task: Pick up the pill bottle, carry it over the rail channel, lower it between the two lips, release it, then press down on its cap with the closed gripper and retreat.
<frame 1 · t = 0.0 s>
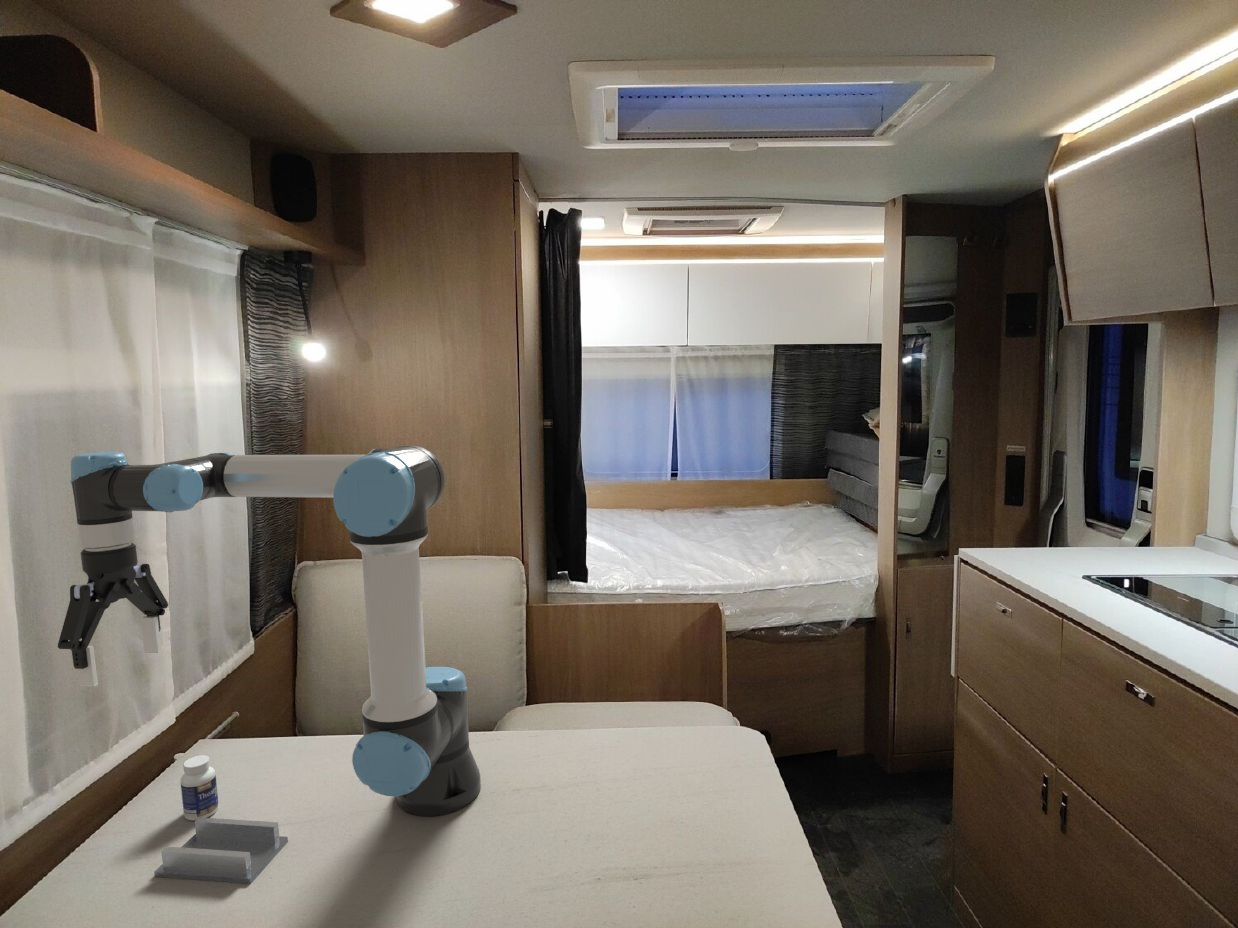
hand: (122, 668, 123), 28 cm above the table, fingers open, 13 cm apart
pill bottle: (202, 813, 129), on the table
rail channel: (223, 858, 116), on the table
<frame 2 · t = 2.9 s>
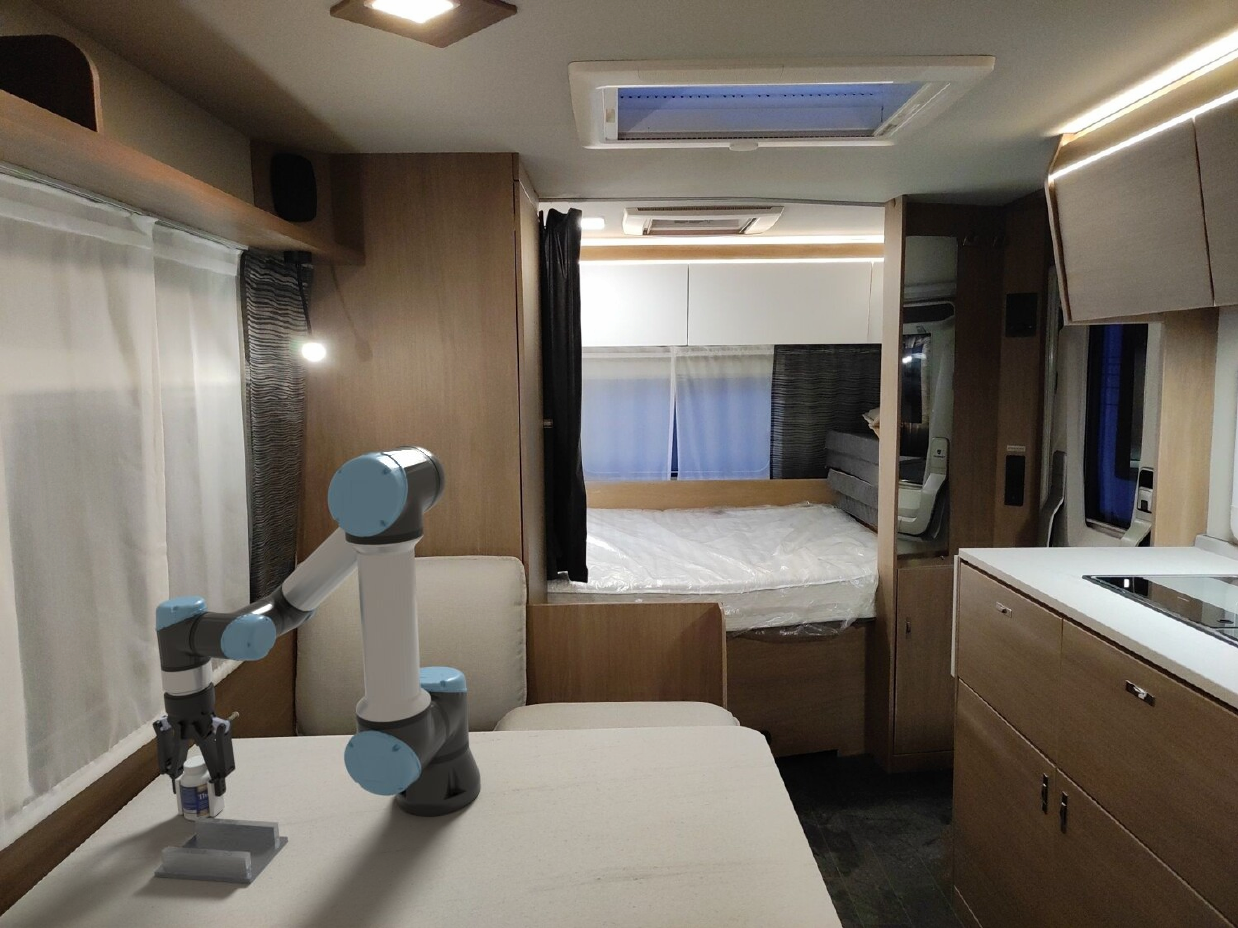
hand: (201, 810, 129), 0 cm above the table, fingers closed on pill bottle, 5 cm apart
pill bottle: (202, 813, 129), on the table, touching gripper
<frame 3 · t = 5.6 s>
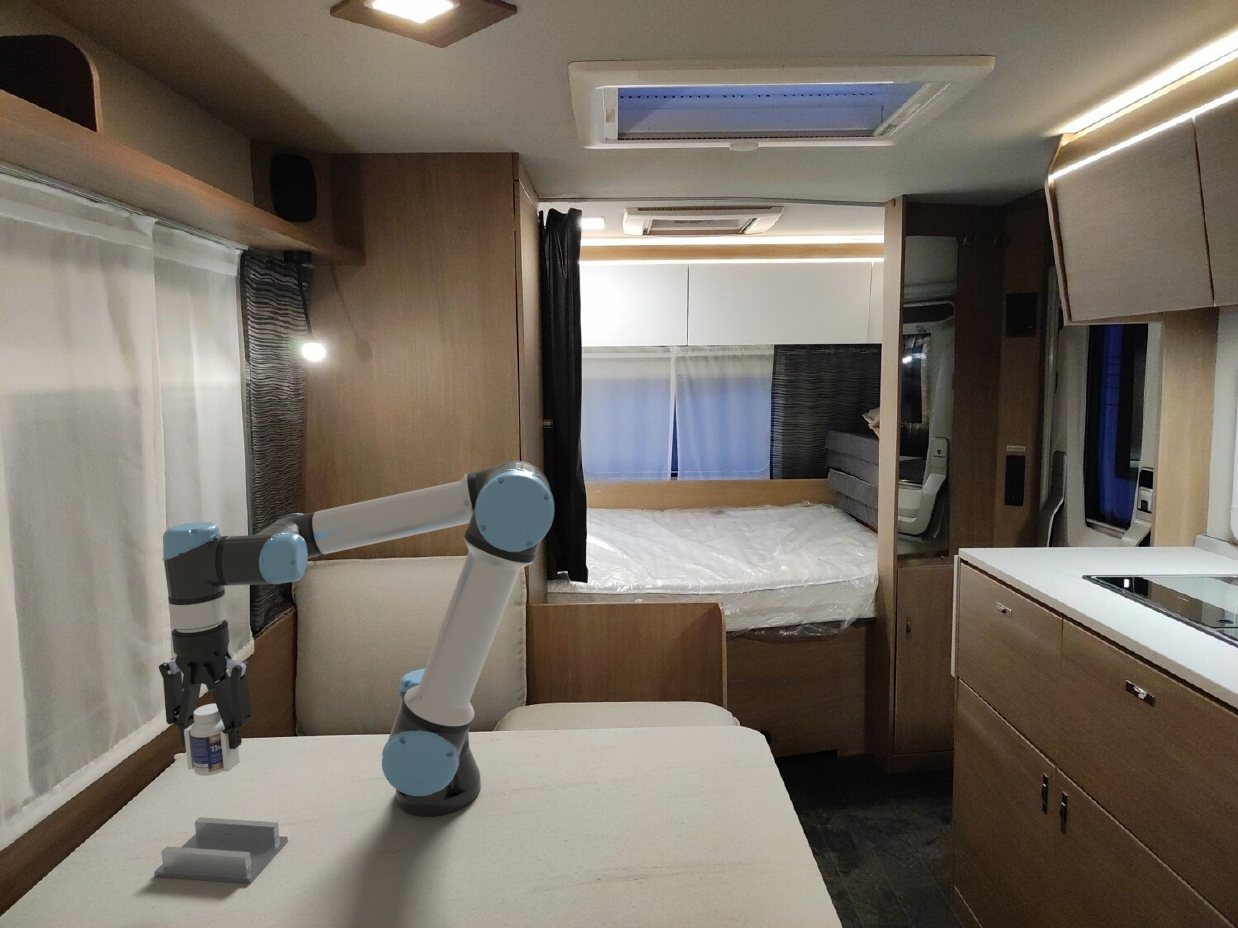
hand: (214, 765, 114), 16 cm above the table, fingers closed on pill bottle, 5 cm apart
pill bottle: (214, 768, 114), point 15 cm above the table, touching gripper
when the fingers open (2 cm above the table, at t = 8.2 s): pill bottle drops 1 cm, resting on rail channel.
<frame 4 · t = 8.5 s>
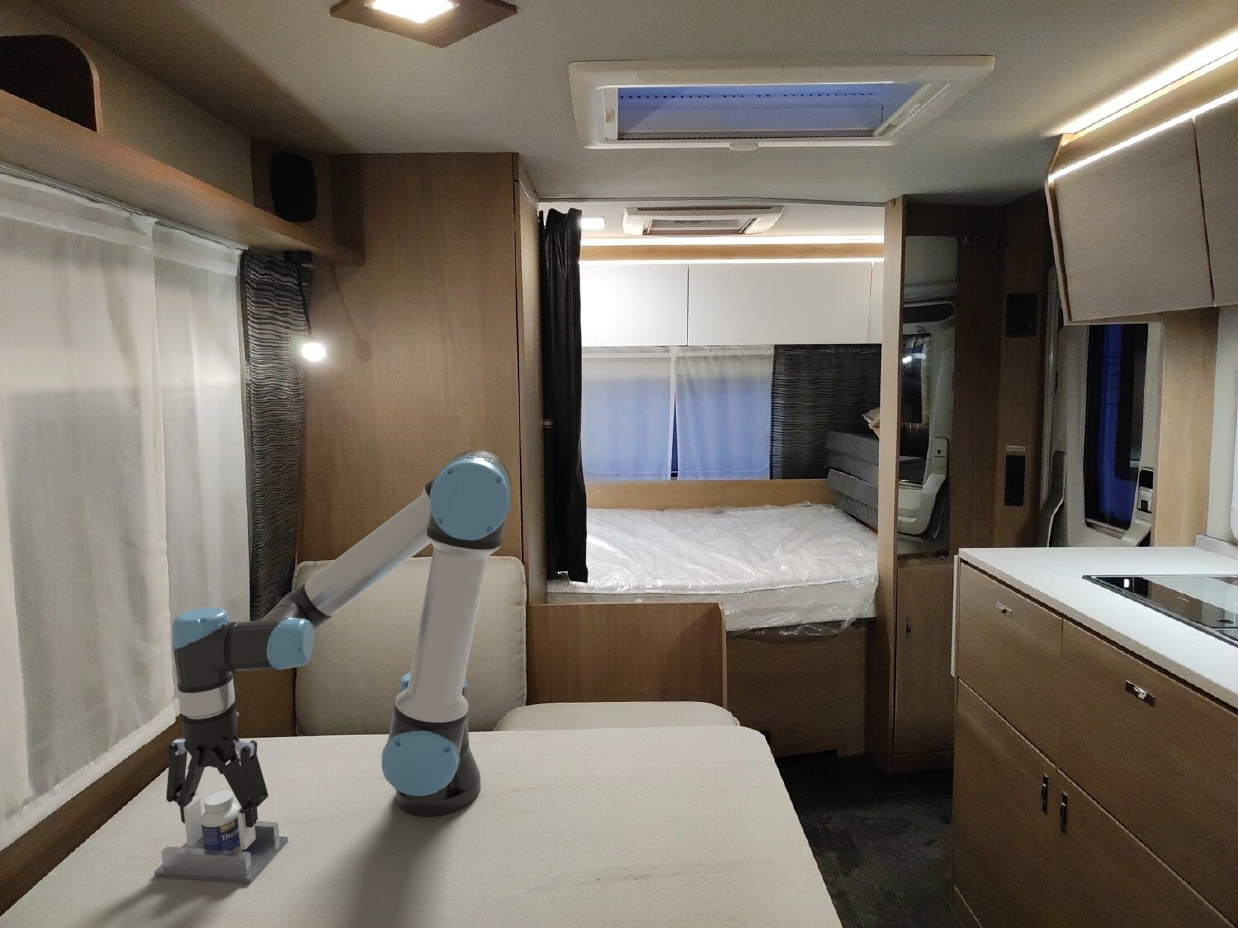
hand: (221, 841, 116), 3 cm above the table, fingers open, 8 cm apart
pill bottle: (224, 854, 116), point 1 cm above the table, touching rail channel
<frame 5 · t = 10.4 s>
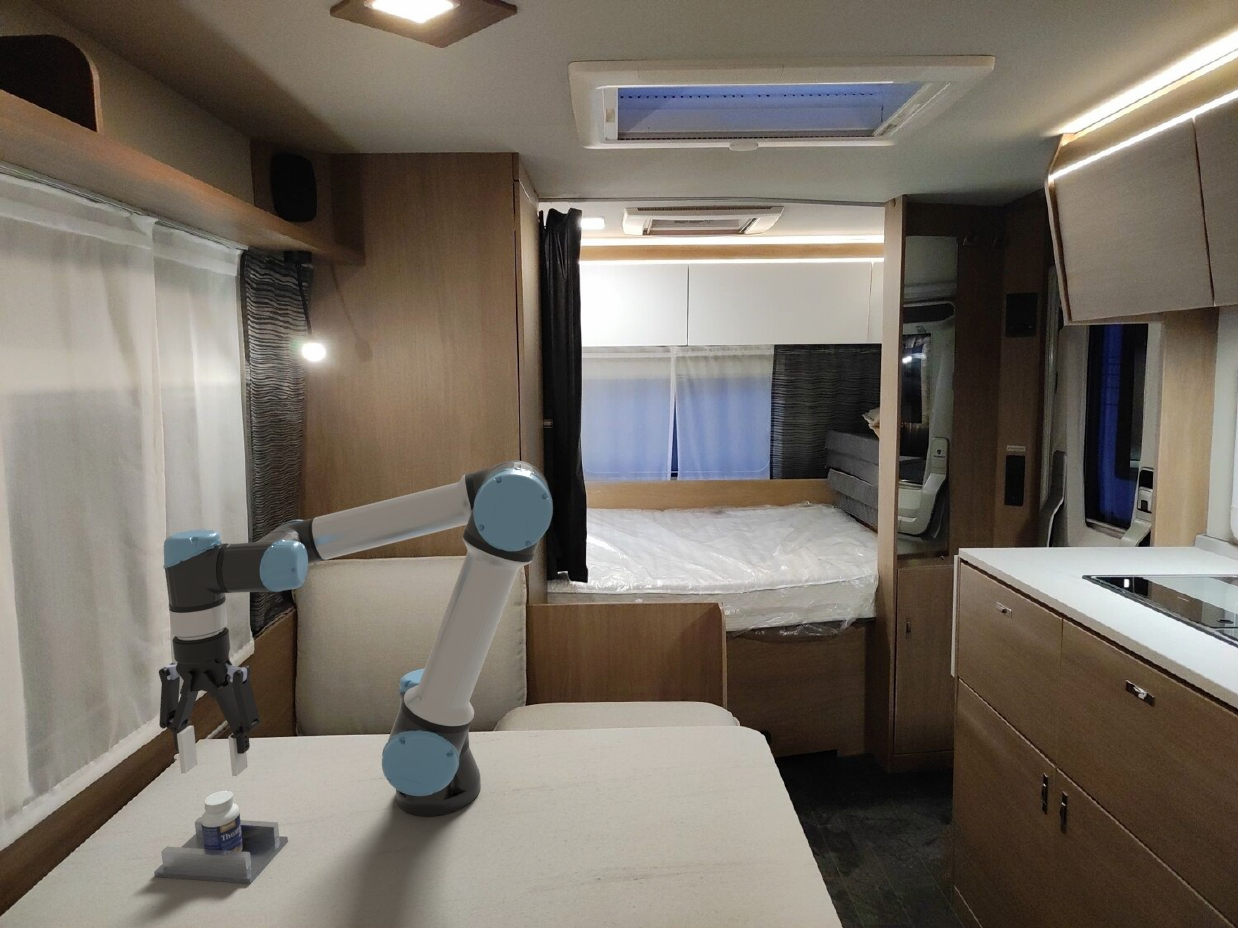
hand: (214, 769, 114), 15 cm above the table, fingers open, 8 cm apart
nothing on the table moved.
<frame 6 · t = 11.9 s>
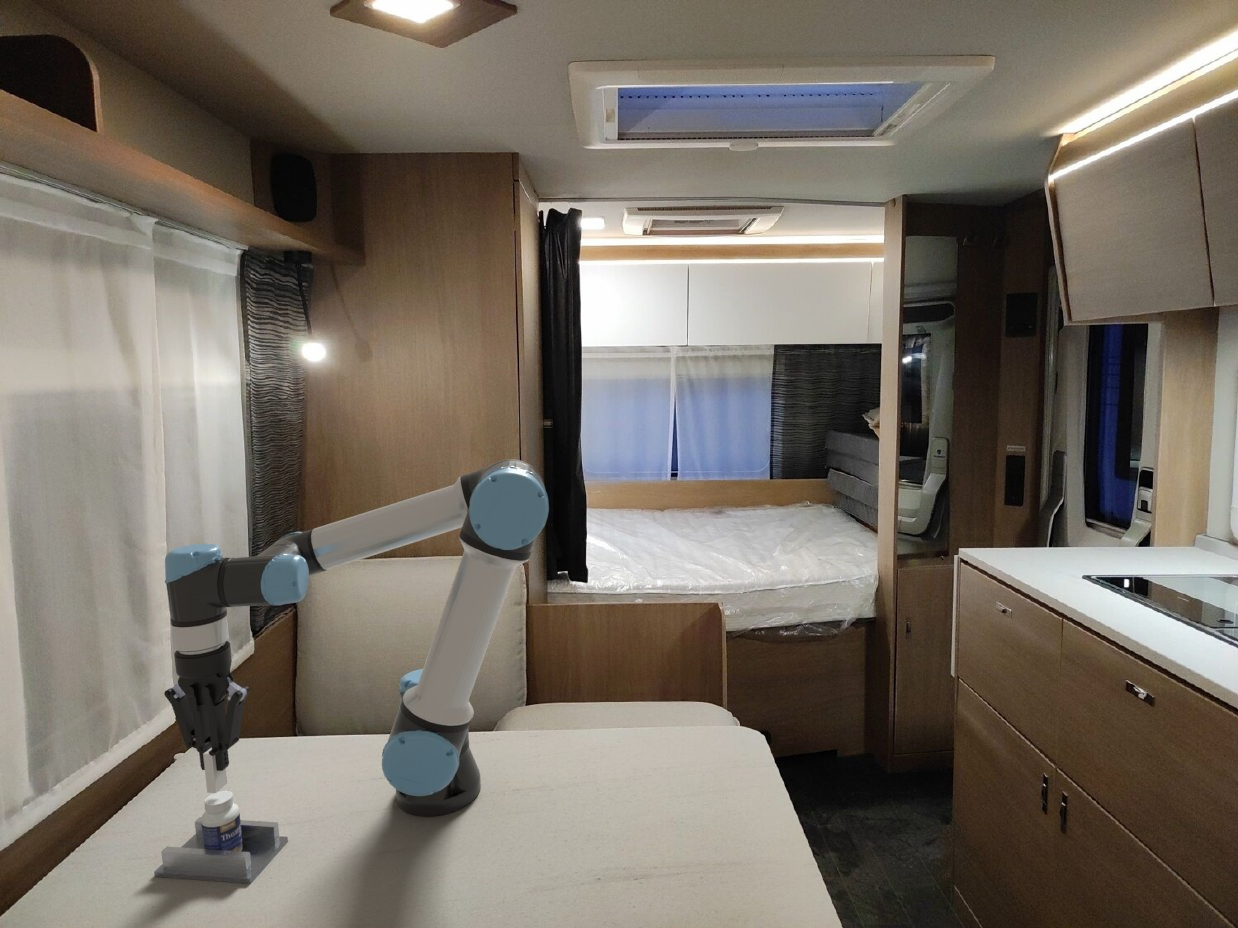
hand: (217, 787, 115), 12 cm above the table, fingers closed
nothing on the table moved.
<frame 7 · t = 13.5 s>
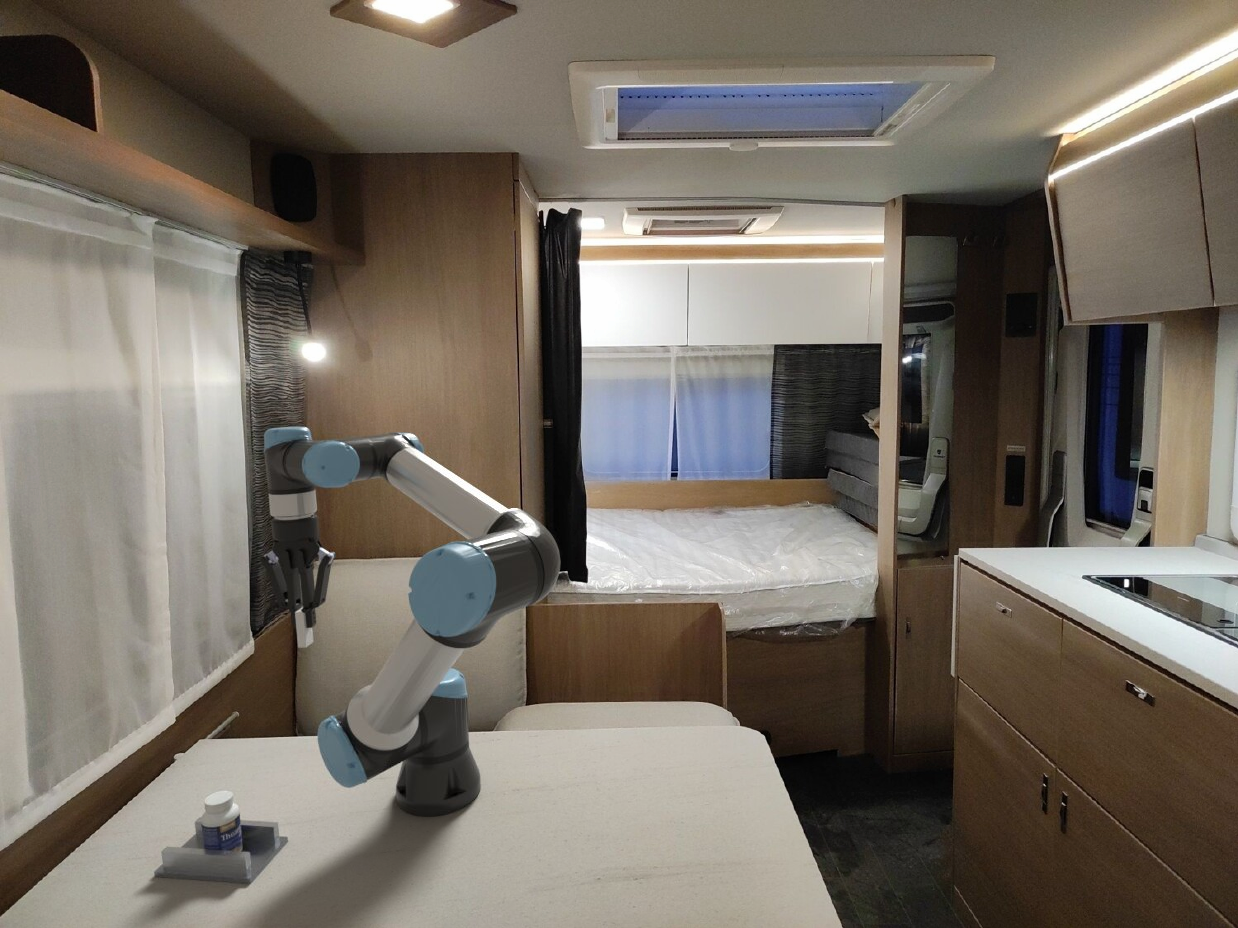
hand: (305, 644, 130), 29 cm above the table, fingers closed
nothing on the table moved.
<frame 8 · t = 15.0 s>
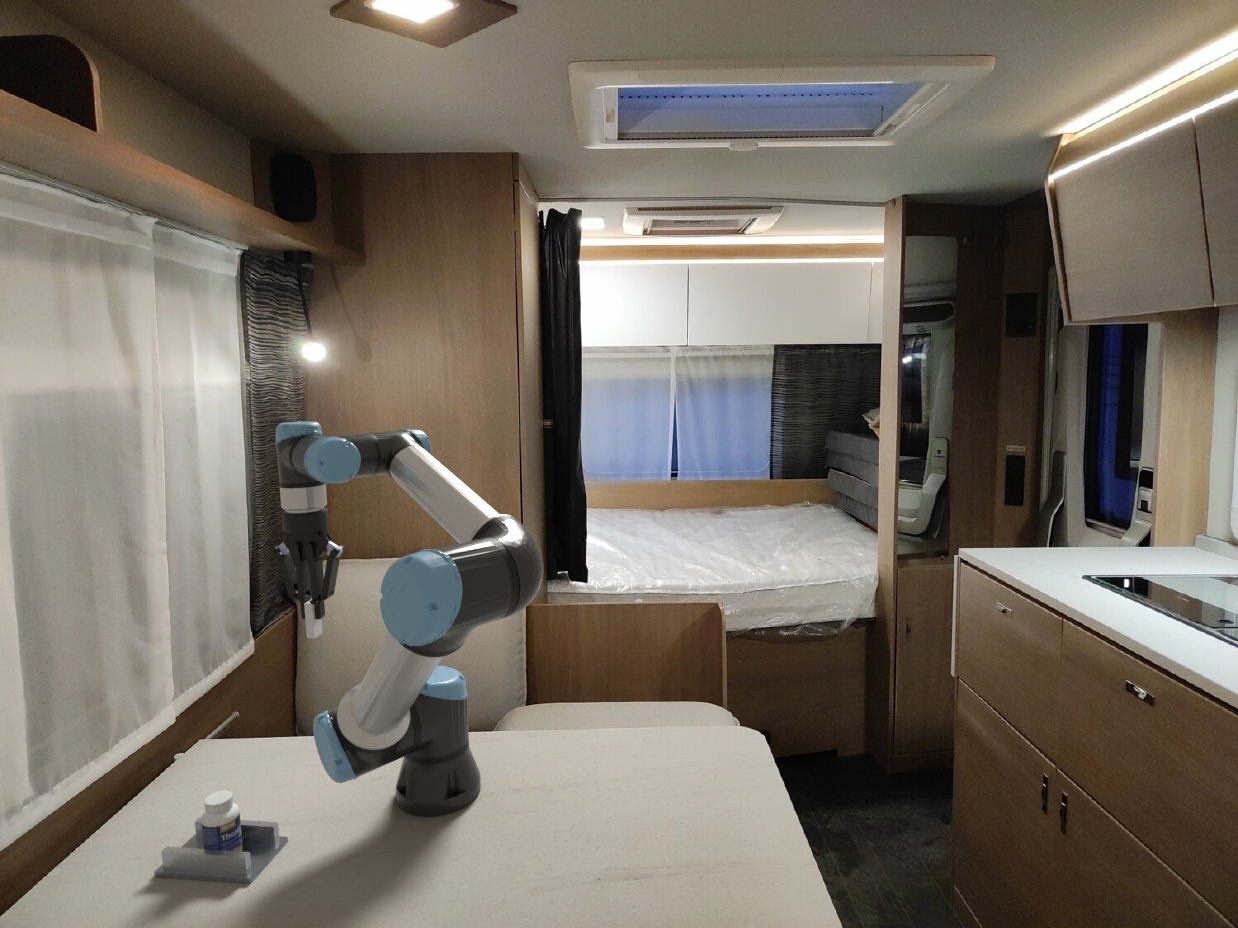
hand: (314, 635, 132), 29 cm above the table, fingers closed
nothing on the table moved.
at the end: pill bottle inside the target area on the rail channel (0.3 cm from its centre), point 0.6 cm above the rail channel's base; pill bottle tilted 0°; the gripper is holding nothing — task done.
